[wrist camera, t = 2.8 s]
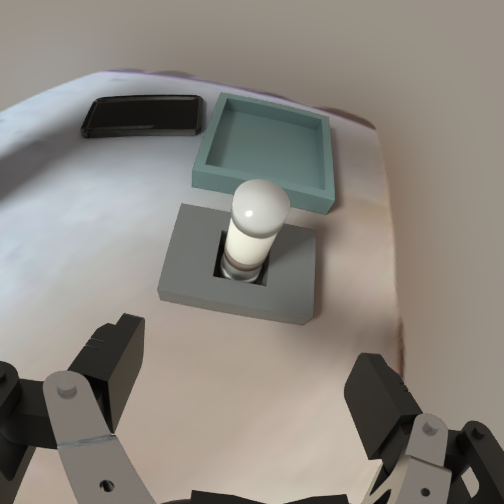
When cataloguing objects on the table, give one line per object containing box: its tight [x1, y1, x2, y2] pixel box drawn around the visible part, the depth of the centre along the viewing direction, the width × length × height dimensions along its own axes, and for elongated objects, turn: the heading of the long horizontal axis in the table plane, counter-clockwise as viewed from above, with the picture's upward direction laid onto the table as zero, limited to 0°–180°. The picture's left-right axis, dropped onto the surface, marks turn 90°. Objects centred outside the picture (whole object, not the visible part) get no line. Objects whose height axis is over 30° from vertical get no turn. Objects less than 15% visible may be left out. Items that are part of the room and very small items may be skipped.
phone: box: [81, 95, 203, 138], centre depth 34 cm, size 8×1×15 cm
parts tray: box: [192, 93, 335, 215], centre depth 33 cm, size 14×14×2 cm
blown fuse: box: [219, 179, 290, 284], centre depth 23 cm, size 3×3×10 cm
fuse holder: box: [157, 203, 316, 325], centre depth 26 cm, size 12×8×2 cm, turn 83°
